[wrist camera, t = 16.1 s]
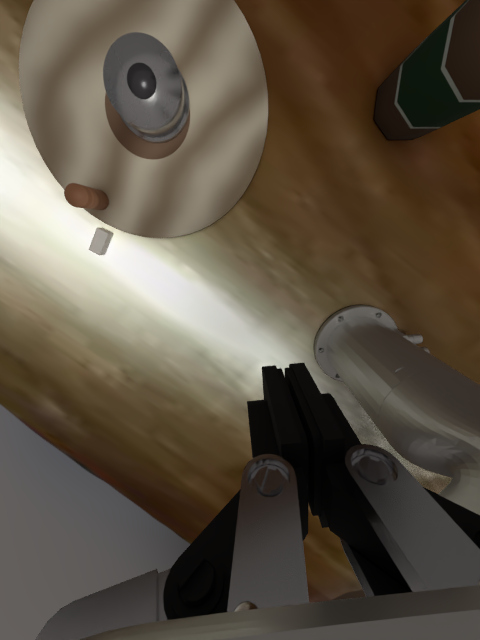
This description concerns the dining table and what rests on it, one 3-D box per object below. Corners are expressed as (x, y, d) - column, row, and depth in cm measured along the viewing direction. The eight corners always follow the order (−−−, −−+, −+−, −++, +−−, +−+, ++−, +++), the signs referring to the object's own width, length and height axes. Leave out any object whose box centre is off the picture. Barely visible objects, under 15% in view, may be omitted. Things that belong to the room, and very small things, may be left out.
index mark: (102, 227, 33) (97, 227, 32) (113, 233, 33) (108, 233, 32) (94, 248, 34) (88, 249, 33) (104, 254, 34) (99, 255, 33)
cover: (204, 102, 28) (200, 82, 24) (159, 159, 30) (148, 149, 26) (148, 35, 26) (133, 0, 22) (102, 100, 28) (81, 79, 24)
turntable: (313, 94, 29) (335, 59, 23) (184, 277, 36) (175, 288, 30) (101, -131, 23) (55, -259, 17) (-8, 139, 30) (-71, 116, 23)
